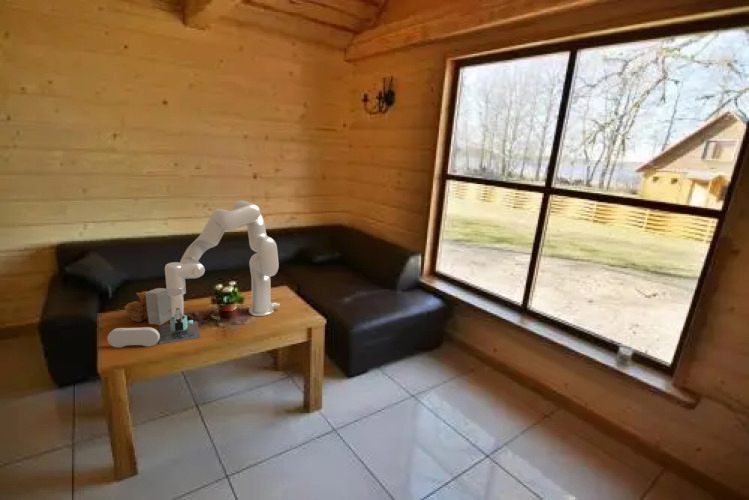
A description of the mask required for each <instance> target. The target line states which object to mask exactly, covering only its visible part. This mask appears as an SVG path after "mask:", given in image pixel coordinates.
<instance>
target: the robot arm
mask: <svg viewBox="0 0 749 500" xmlns="http://www.w3.org/2000/svg"><path fill="white" fill-rule="evenodd" d="M244 226H246V228H247V236H248V243H249V247H250V249H251V251H253V252H255V253H254V254H253V255H252V256H251V257H250V259H249V260H248V261H249V263H248V264H249V270H250V271H249V272H250V277H251V307H249V309H248V313H249V314H250V315H252V316H255V317H264V316H265V317H266V316H269V315H272V313H274V311H275V309H274V308H280V306H281V304H280V303H279V302H278V303H277V302H275V301H274V302H272V299H271V298H272V297H271V296H272V295H271V293H272V292H271V282H272V281H271V277H274V276H275V275H276V274H277V273H278V270H279V268H280V267H279V266H280V265H279V264H280V263H279V253H278V245H277V243H276V241H275V240H274V239H273V238H272V237H270V236H268V235H267V231H266V224H265V220H264V216H263V215H262V214H261V209H260V207H259V206H258V205H256V204H255V203H252V202H249V201H246V200H240V199H239V200H236V201H235V202H233V205H232V210H228V209H223V208H217V209H215V210H213V212H212V213H211V215H210V217H209V218H208V221H207V222H206V224H205V226H204V227H203V230H202V231H201V233H200V234H199V236H198V237H196V238H195V240H194V241H192V243H191V244H190V245H189V246H187V248H186V250H185V252H184V253H183V255H182V256H181V259H180V262H178V261H177V262H176V261H175V262H169V263H167V264H165V266H164V275H165V285H166V288H165V289H167V295H168V296H169V298H170V308H171V317H175V331H181V330H183V322H182V316H183V315H184V311H185V309H184V305H185V304H184V295H185V294H186V293H187V290H186V289H187V287H186V279H187V280H189V279H199V278H201V277H202V276H203V275H204V274H205V271H206V269H205V266H204V265H203V264H202V263H201V262H200V261H199V260H200V259H201V257H202V256H203V255H204V253H205V252H206V251H208V250H209V249H211V248H214V247H217V246H218V244H219V243H220V241H221V239H222V237H223V235H224V234H225V232H226V231H231V230H235V229H239V228H241V227H244ZM176 315H177V316H176ZM176 317H177V319H176ZM180 317H181V318H180Z"/></svg>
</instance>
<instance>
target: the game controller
mask: <svg viewBox="0 0 749 500" xmlns="http://www.w3.org/2000/svg"><path fill="white" fill-rule="evenodd" d="M106 338H107V342H108V344H109V345H111V346H112V348H113V347H114V348H124V347H126V346H144V347H154V346H156V345H157V344H158V343H159V339H160V334H159V331H158V330H157V329H156V328H153V327H150V326H149V327H148V326H147V327H146V326H145V327H118V328H117V327H116V328H114V329H113V330H111V331H110V332H109V333H108V335H107V337H106Z"/></svg>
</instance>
